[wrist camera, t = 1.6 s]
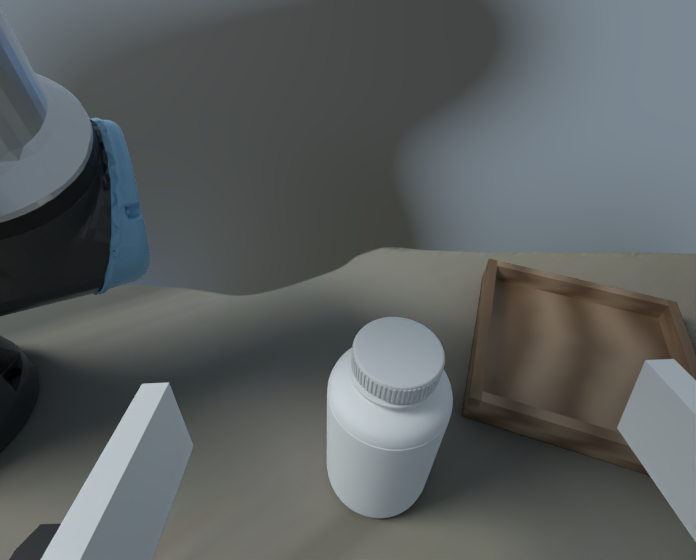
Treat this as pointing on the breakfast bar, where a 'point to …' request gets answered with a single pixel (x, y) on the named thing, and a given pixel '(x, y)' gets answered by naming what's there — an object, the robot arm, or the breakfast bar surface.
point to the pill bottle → (386, 416)
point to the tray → (566, 357)
